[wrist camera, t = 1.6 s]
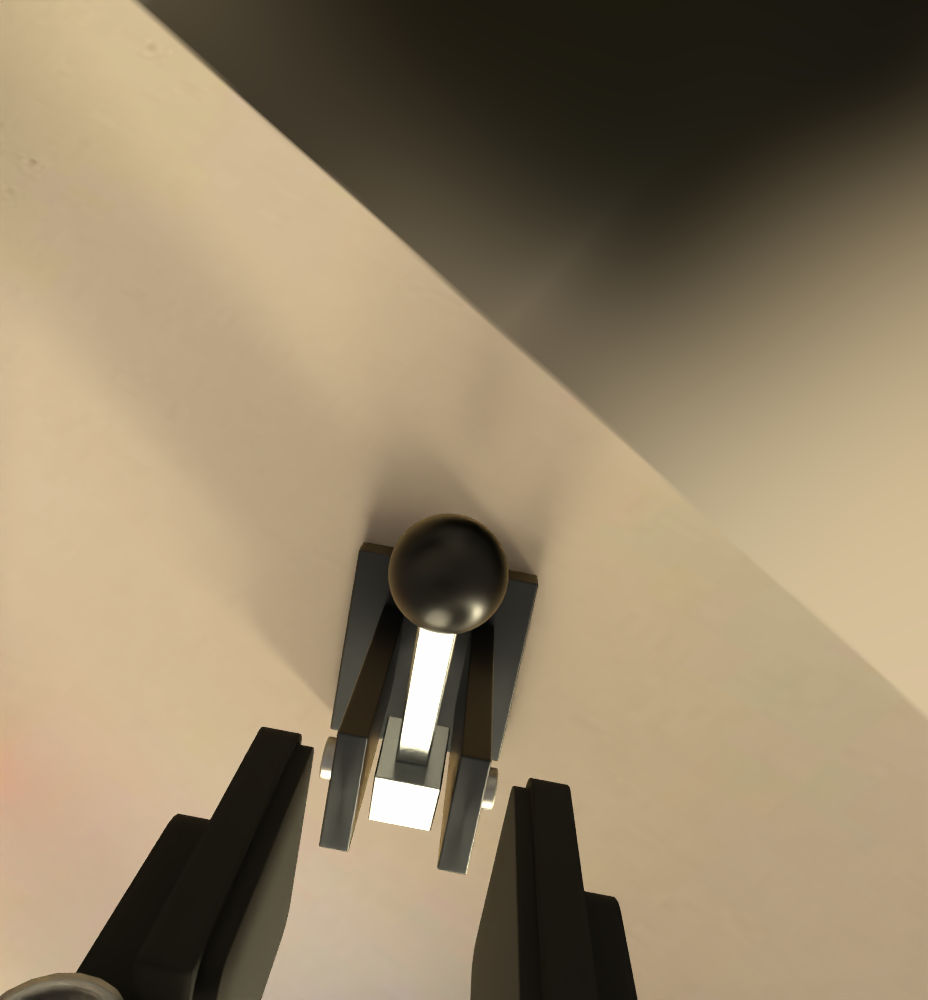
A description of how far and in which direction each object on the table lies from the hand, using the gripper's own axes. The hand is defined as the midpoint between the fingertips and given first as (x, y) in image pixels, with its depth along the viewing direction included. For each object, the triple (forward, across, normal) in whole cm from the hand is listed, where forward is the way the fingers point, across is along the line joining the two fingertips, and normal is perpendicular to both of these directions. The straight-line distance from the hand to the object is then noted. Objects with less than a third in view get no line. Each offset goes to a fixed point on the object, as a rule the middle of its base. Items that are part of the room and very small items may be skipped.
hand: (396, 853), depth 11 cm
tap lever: (+15, 0, +4) cm, 15 cm away
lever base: (+25, 0, +9) cm, 27 cm away
